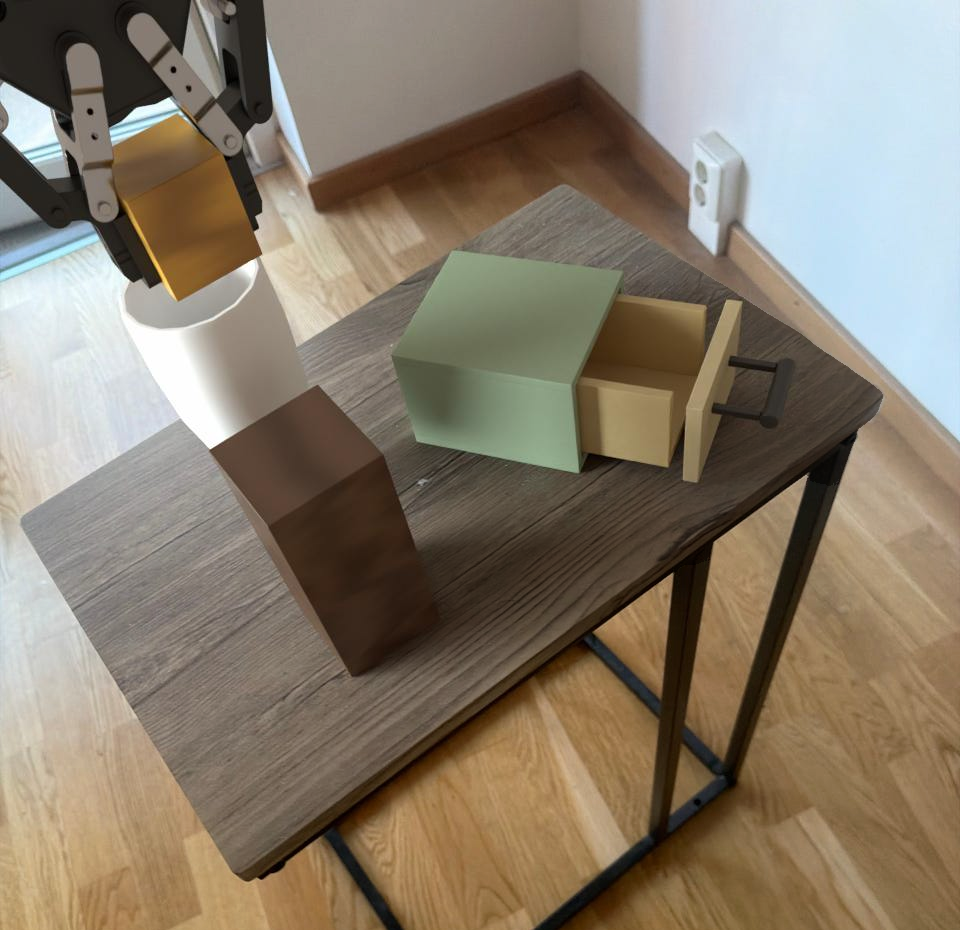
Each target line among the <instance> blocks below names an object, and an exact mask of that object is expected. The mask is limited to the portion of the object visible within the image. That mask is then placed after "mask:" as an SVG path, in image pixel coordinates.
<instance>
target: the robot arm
mask: <svg viewBox="0 0 960 930" xmlns="http://www.w3.org/2000/svg"><path fill="white" fill-rule="evenodd" d="M199 2H200V5H201V7H202V8H203V10H205V11H206V12H207V13H208V14H209V15H211V16H213V17H212V18H213V24H214V25H213V26H214V32H215V39H216V47H217V48H216V49H217V56H218V64H219V70H220V71H219V72H220V79H221V87H222V88H221V89H222V90H221V92H220V93H219V95H218V96H216V97H215V96H214V94H213V93H212V92H211V91H210V89H209V88H208V87H207V86H206V84H205V83H204V82H203V80H202V79H201V77H199V75H198V74H197V73H196V71H195V70H194V69H193V68H192V67H191V65H190V64H189V63H188V61H187V60H186V59H185V57H184V50H185V43H186V36H187V32H188V31H187V30H188V24H189V17H190V11H191V5H192V0H0V88H1V87H2V85H3V84H4V83H5V84H7V85H8V86H10V87H12V88H14V89H16V90H18V91H19V92H21V93H23V94H25V95H26V96H28V97H30V98H31V99H34V100H35V101H36V102H39V103H40V104H43V105H44V106H46V107H47V108H49V111H50V115H51V120H52V125H53V129H54V132H55V133H54V134H55V136H56V139H57V140H58V142H59V145H60V148H61V152H62V157H63V162H64V167H65V172H66V176H64V177H55V178H47V177H46V176H45V175H44V174H43V173H42V172H41V171H40V170H39V169H38V168H37V167H36V166H35V165H34V164H33V162H31V161H30V160H29V159H28V157H26V155H24V154H23V153H22V152H21V150H19V149H18V147H17V146H16V145H14V144H13V142H12V141H10V139H9V138H8V137H6V135H5V134H4V132H5V131H6V129H8V126H9V123H10V118H9V114H8V111H7V110H6V108H5V106H4V105H3V104H2V102H1V101H0V180H1V182H3V183H4V184H5V185H6V186H7V187H8V188H9V189H10V190H11V191H12V192H13V193H14V194H15V195H16V196H17V197H18V198H19V199H20V200H22V202H24V204H25V205H27V206H28V208H30V209H31V210H32V212H34V213H35V214H36V215H37V216H38V217H39V218H40V219H41V220H42V221H43V222H44V223H45V224H46V225H48V226H49V227H50V228H52V229H56V230H61V229H65V228H67V227H69V226H70V225H71V223H72V222H79V221H84V222H88V223H90V224H91V226H92V228H93V230H94V232H95V234H96V235H97V237H98V239H99V240H100V242H101V244H102V246H103V248H104V249H105V251H106V253H107V255H108V257H109V258H110V260H111V262H112V264H114V266H115V267H116V268H117V270H119V272H120V273H121V274H122V275H123V276H124V277H125V278H126V279H127V278H128V279H129V280H130V281H131V282H133V283H134V282H136V281H138V280H140V279H141V280H142V281H143V282H144V284H145V285H146V286H147V287H148V288H149V289H150V288H152V287H154V286H156V285H158V284H160V283H161V282H162V280H161V278H160V276H159V274H158V272H157V270H156V268H155V266H154V265H153V263H152V261H151V259H150V257H149V255H148V253H147V251H146V249H145V247H144V245H143V243H142V242H141V240H140V238H139V236H138V234H137V232H136V230H135V228H134V226H133V224H132V222H131V220H130V219H129V217H128V215H127V213H126V212H125V211H124V210H123V209H122V208H121V207H120V205H119V204H118V200H117V194H116V188H115V183H114V177H113V171H112V164H113V163H114V155H113V149H112V146H113V144H112V137H111V132H110V128H113V127H114V126H116V125H118V124H120V123H122V122H123V121H124V120H125V119H126V118H127V117H128V116H129V115H130V114H132V113H133V112H134V111H135V110H136V109H138V108H142V107H148V106H153V105H157V104H159V103H161V102H163V101H165V100H167V99H170V100H171V102H172V103H173V104H174V106H176V107H177V109H178V110H179V111H180V112H181V114H182V115H183V116H184V117H185V118H186V119H187V121H188V123H189V124H190V125H191V126H193V127H194V128H195V129H196V130H197V131H198V132H199V133H200V134H201V135H203V136H204V137H205V138H206V139H207V140H208V141H209V142H210V143H211V144H213V145H214V146H215V147H216V148H217V149H218V150H219V151H220V152H221V153H222V154H223V156H224V159H225V161H226V164H227V166H228V169H229V171H230V174H231V176H232V179H233V181H234V184H235V186H236V189H237V191H238V194H239V196H240V199H241V201H242V204H243V206H244V209H245V211H246V214H247V216H248V219H249V221H250V224H251V226H252V229H253V231H254V232H256V231H258V230H259V229H260V224H259V223H258V219H257V218H256V217H257V216H259V215H261V214H263V198H262V196H261V194H260V191H259V189H258V186H257V183H256V181H255V178H254V176H253V173H252V170H251V168H250V165H249V161H248V159H247V157H246V154H245V152H244V141H245V137H246V135H247V134H248V133H249V131H250V130H251V129H253V127H254V126H255V125H256V124H257V125H262V124H265V123H267V122H268V121H269V120H270V119H271V117H272V116H273V112H274V103H273V93H272V81H271V72H270V71H271V70H270V60H269V48H268V38H267V28H266V27H267V26H266V15H265V5H264V4H265V3H264V0H199Z"/></svg>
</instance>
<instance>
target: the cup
mask: <svg viewBox="0 0 960 930" xmlns="http://www.w3.org/2000/svg"><path fill="white" fill-rule="evenodd" d="M119 308H120V313H121V320H122V321H123V323H124V324H125V327H126V328H127V331H128V332H129V334H130V336H131V338H132V339H133V341H134V343H135V345H136V347H137V349H138V351H139V353H140V355H141V356H142V358H143V360H144V362H145V364H146V366H147V367H148V369H149V371H150V372H151V375H152V376H153V378H154V380H155V381H156V382H157V384H158V385H159V386H160V389H161V390H162V391H163V393H164V395H165V396H166V398H167V399H168V400H169V402H170V404H171V405H172V406H173V408H174V409H175V411H176V412H177V414H178V416H179V417H180V418H181V420H182V421H183V422H184V423H185V425H186V426H187V427H188V428H189V429H190V430H191V431H192V432H193V433H194V434H195V435H196V436H197V437H198V439H200V440H201V441H202V442H203V443H204V444H205V445H206V447H207V448H209V449H211V448H213V447H214V446H216V445H218V444H219V443H221V442H223V441H224V440H226V439H228V438H229V437H231V436H232V435H234V434H236V433H237V432H239V431H241V430H242V429H244V428H246V427H247V426H249V425H251V424H252V423H254V422H256V421H257V420H259V419H261V418H262V417H264V416H266V415H267V414H269V413H271V412H272V411H274V410H276V409H277V408H279V407H281V406H282V405H284V404H286V403H287V402H289V401H291V400H292V399H294V398H296V397H297V396H299V395H301V394H302V393H304V392H306V391H307V390H309V389H310V388H309V381H308V376H307V373H306V370H305V367H304V363H303V360H302V358H301V355H300V352H299V349H298V346H297V343H296V340H295V338H294V335H293V331H292V329H291V325H290V323H289V319H288V317H287V314H286V312H285V310H284V309H285V308H284V307H283V305H282V303H281V301H280V299H279V296H278V294H277V292H276V290H275V288H274V285H273V283H272V281H271V278H270V276H269V273H268V272H267V270H266V268H265V265H264V263H263V261H262V259H261V256H259V257H257V258H256V259H254V260H252V261H250V262H248V263H247V264H245V265H243V266H241V267H239V268H238V269H236V270H234V271H232V272H231V273H229V274H227V275H225V276H223V277H222V278H220V279H218V280H216V281H215V282H213V283H211V284H209V285H207V286H206V287H204V288H202V289H200V290H198V291H197V292H195V293H193V294H191V295H190V296H188V297H186V298H184V299H182V300H181V301H179V302H177V301H176V300H175V299H174V298H173V296H172V295H171V294H170V293H169V292H168V291H167V290H166V288H165V287H164V286H163V285H162V284H161V283H160V284H158V285H156V286H154V287H152V288H150V289H149V288H148V287H147V286H146V285H145V284H144V282H143V281H142V280H141V279H140V280H138V281H136V282H134V283H133V282H131V281H130V280H129V279H128V278H126V280H125V283H124V286H123V288H122V291H121V293H120V295H119Z"/></svg>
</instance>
